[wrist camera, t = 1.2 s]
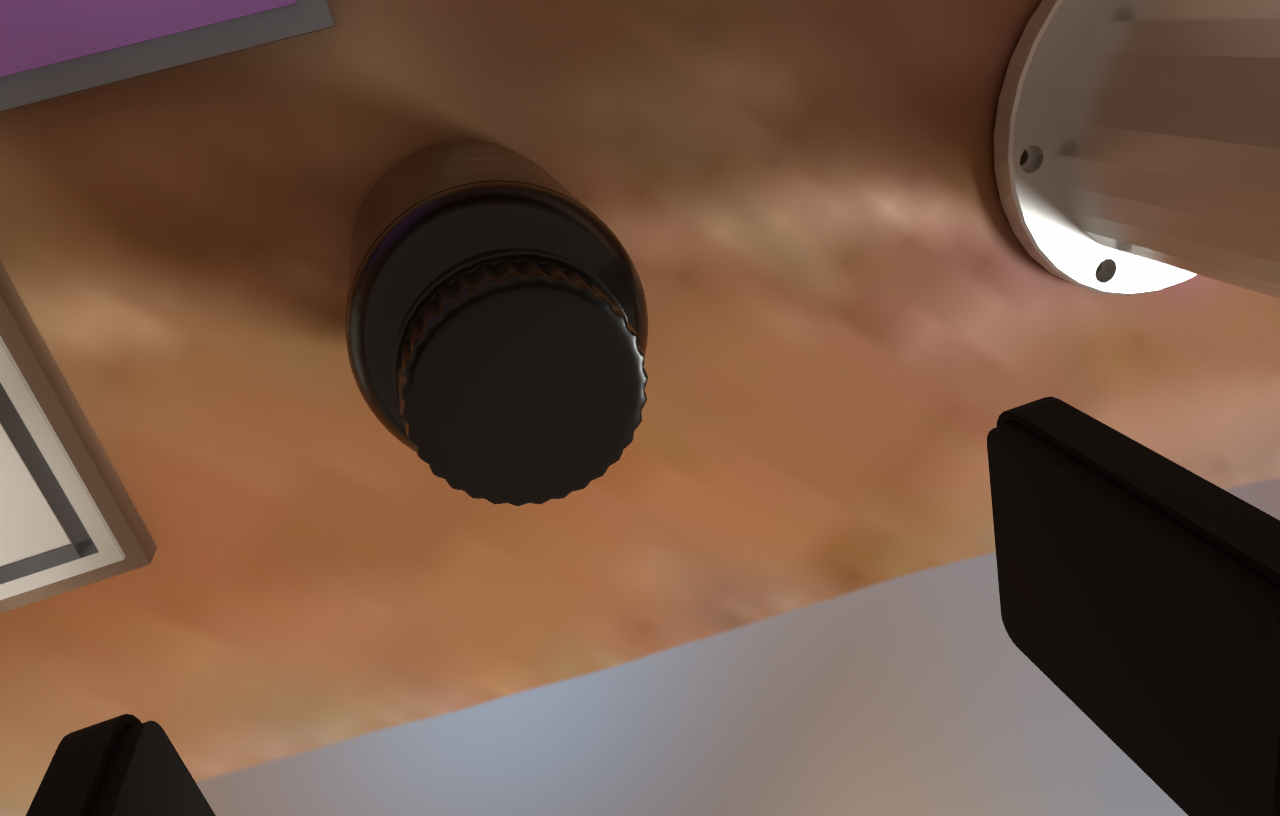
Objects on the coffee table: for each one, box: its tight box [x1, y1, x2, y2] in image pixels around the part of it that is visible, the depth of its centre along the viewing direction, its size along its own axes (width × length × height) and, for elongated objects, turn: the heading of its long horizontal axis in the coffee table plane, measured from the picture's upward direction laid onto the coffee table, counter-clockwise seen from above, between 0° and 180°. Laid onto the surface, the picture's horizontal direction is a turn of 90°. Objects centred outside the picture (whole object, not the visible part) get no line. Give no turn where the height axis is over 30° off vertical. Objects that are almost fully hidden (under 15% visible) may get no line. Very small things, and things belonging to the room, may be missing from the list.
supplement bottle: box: [346, 141, 648, 506], centre depth 23 cm, size 7×7×12 cm
